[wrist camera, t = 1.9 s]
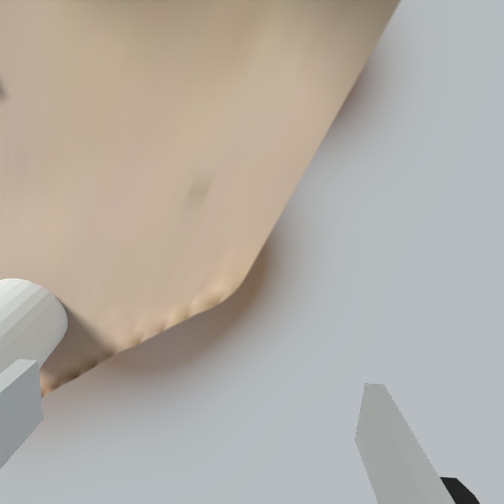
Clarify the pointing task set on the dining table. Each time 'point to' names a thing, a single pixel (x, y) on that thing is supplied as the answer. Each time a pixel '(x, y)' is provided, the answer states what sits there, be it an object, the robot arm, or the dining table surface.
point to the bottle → (29, 322)
